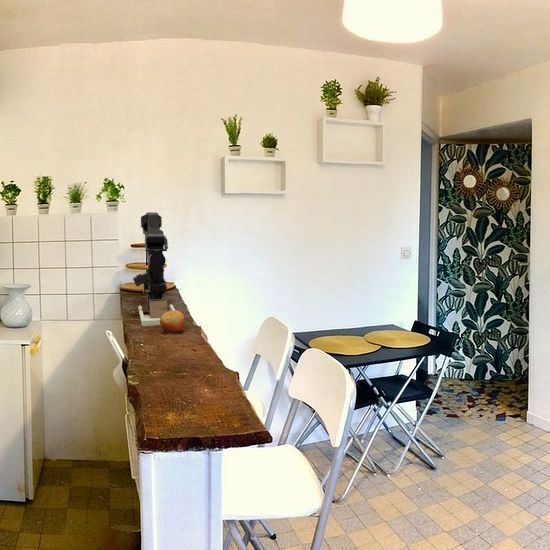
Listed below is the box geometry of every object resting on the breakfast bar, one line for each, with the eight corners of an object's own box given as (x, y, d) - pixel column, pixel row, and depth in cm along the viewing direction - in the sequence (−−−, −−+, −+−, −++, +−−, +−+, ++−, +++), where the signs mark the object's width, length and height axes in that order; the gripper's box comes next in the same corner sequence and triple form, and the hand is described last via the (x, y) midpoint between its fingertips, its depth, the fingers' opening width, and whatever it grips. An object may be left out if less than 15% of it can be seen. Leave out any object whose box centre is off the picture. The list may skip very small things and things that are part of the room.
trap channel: (138, 312, 201) (138, 306, 201) (172, 310, 205) (172, 304, 205) (142, 328, 173) (141, 321, 172) (180, 325, 177) (180, 319, 176)
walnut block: (149, 315, 191) (149, 299, 190) (165, 314, 193) (165, 298, 192) (150, 318, 185) (150, 302, 184) (167, 317, 187) (167, 301, 186)
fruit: (189, 323, 173) (186, 306, 168) (184, 340, 167) (180, 322, 162) (166, 323, 174) (162, 305, 169) (160, 339, 168) (155, 321, 163)
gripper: (133, 264, 201) (134, 303, 202) (134, 268, 183) (135, 312, 185) (162, 263, 204) (163, 302, 205) (166, 268, 186) (167, 310, 188)
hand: (156, 306), depth 196 cm, fingers closed
